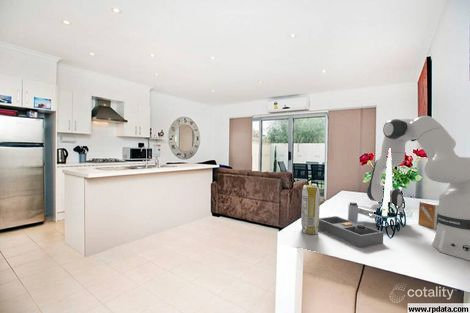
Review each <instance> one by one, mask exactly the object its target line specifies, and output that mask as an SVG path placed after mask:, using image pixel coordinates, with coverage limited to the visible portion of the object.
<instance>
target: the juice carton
mask: <svg viewBox="0 0 470 313" xmlns="http://www.w3.org/2000/svg"><path fill="white" fill-rule="evenodd" d="M320 197H321V193H320V188H319V187H318V184H316V183H311V185H309V184H304V185H303V186H302V191H301V216H300V217H301V218H300V220H301V221H300V222H301V228H302V232H303V234H308V235H318V234H319V230H320V229H319V218H320V204H321V202H320V201H321V198H320Z"/></svg>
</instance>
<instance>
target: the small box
mask: <svg viewBox="0 0 470 313" xmlns="http://www.w3.org/2000/svg"><path fill="white" fill-rule="evenodd" d="M418 205H419V206H418V225H421V226H424V227H426V228H430V229H433V230H437V213H438V212H439V203H436V202H430V201H427V200H426V201H425V200H424V201H419V204H418Z"/></svg>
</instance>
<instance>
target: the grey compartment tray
mask: <svg viewBox="0 0 470 313" xmlns="http://www.w3.org/2000/svg"><path fill="white" fill-rule="evenodd" d="M357 225H363V224H361V223H359V222H358V223H355V222H352V221H349V220H348V219H346V218H343V217H340V216H337V215H335V216H327V217H319V229H318V230H320V231H322V232H325V233H326V234H328V235H331V236H333V237H335V238H337V239H340V240H342V241H343V242H346V243H348V244H351V245H353V246H355V247H358V248H360V249H362V248H367V247H372V246H376V245H377V244H378V245H382V244H384V231H382V230H378V229H375V228H373V227H369V226H366V225H363V226H365V227H366V228H367V234H364V235H359V234H357V233H355V227H356V226H357Z"/></svg>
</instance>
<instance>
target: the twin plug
mask: <svg viewBox="0 0 470 313" xmlns="http://www.w3.org/2000/svg"><path fill="white" fill-rule="evenodd" d="M365 226H366V225H364V226H363V224H361V225H357V226H356V227H355V233H357V234H359V235H364V234H367V228H366V227H365Z"/></svg>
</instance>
